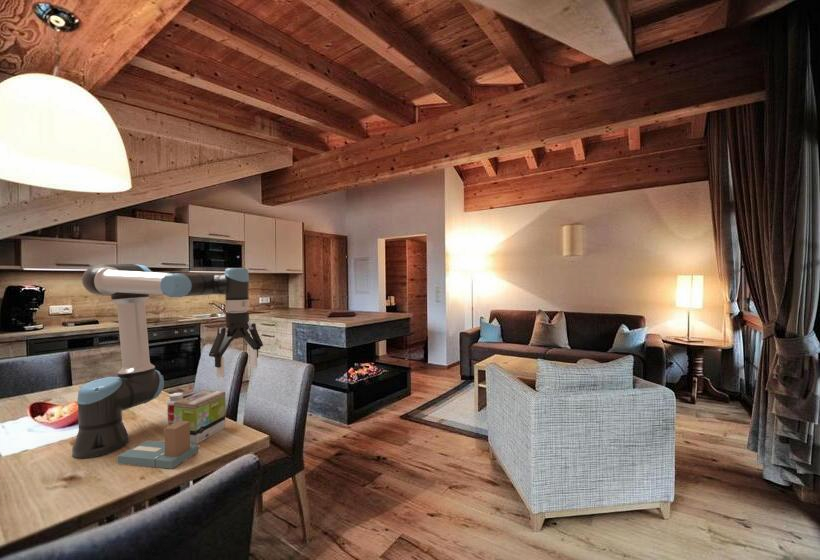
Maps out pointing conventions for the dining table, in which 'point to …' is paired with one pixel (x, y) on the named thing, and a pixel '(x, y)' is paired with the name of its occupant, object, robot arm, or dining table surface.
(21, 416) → the dining table surface
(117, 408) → the robot arm
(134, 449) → the ticket
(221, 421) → the tea box
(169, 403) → the pill bottle
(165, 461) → the stub
